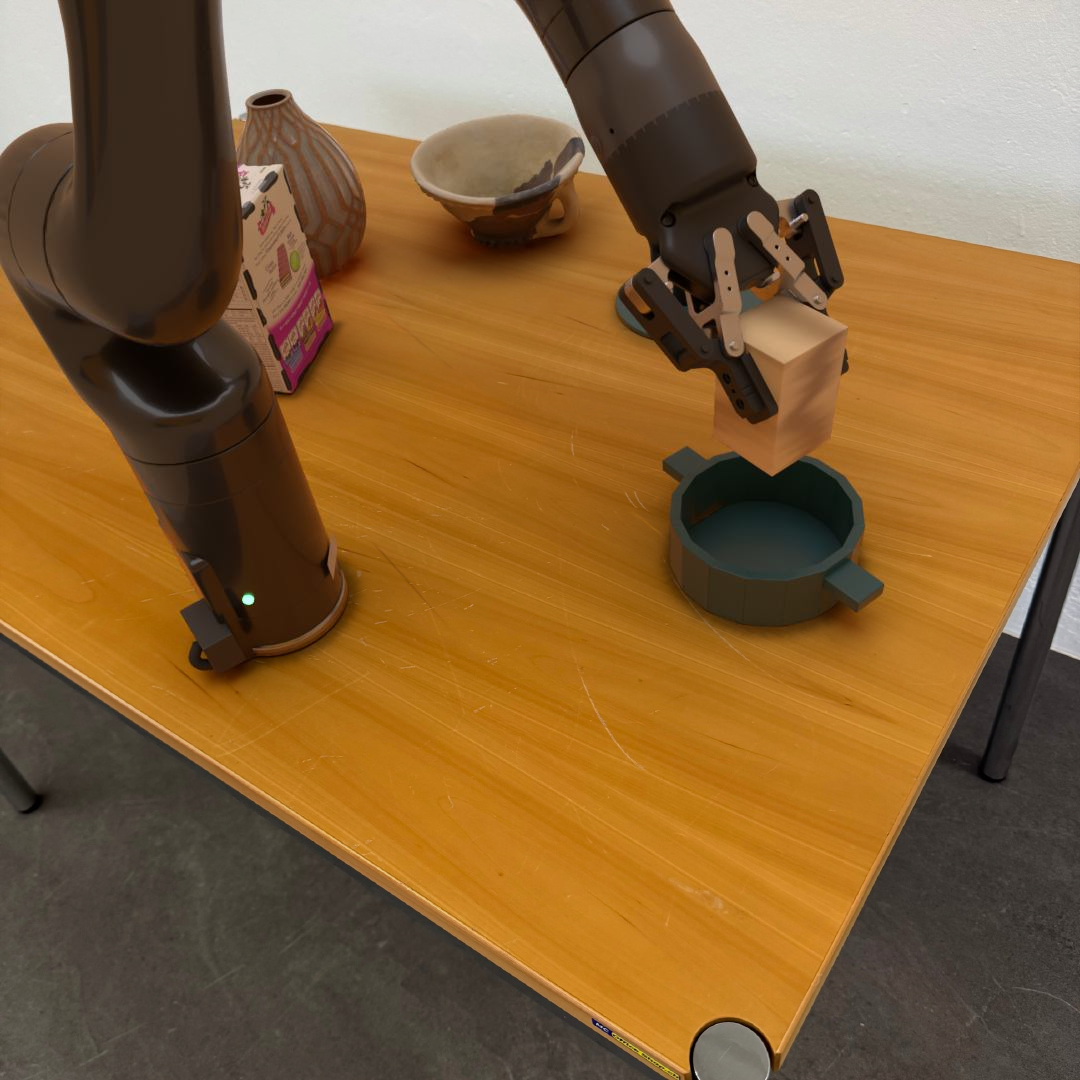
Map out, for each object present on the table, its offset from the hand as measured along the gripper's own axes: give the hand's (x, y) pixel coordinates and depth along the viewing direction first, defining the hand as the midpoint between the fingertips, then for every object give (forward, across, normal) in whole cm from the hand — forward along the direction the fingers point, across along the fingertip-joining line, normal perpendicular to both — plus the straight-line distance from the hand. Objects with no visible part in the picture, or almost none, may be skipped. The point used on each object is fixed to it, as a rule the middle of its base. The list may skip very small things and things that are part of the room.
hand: (800, 396), depth 54 cm
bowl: (-27, +14, +48) cm, 57 cm away
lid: (-10, +18, +30) cm, 37 cm away
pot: (+9, 0, +12) cm, 15 cm away
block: (+2, 0, +4) cm, 5 cm away
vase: (-34, -4, +55) cm, 65 cm away
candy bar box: (-24, -14, +46) cm, 53 cm away
